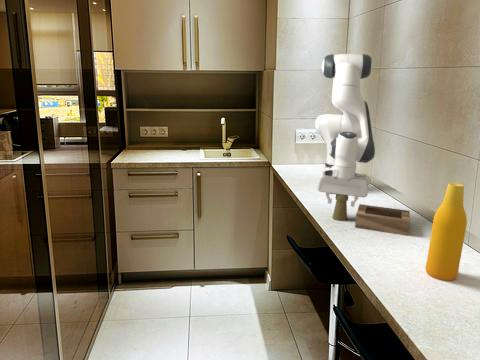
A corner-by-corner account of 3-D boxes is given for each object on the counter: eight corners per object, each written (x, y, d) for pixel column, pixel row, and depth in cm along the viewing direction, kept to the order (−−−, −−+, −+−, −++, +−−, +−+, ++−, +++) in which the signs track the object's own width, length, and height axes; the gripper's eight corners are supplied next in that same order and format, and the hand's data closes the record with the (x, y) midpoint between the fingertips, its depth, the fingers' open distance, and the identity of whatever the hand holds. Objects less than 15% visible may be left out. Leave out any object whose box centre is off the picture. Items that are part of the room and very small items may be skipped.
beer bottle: (454, 284, 132) (471, 190, 125) (422, 275, 137) (436, 184, 129) (459, 273, 139) (475, 184, 132) (428, 265, 144) (442, 178, 137)
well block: (358, 216, 190) (359, 204, 188) (407, 223, 183) (409, 210, 182) (354, 227, 176) (356, 214, 174) (408, 235, 170) (410, 222, 168)
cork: (337, 215, 190) (340, 190, 187) (349, 218, 186) (352, 193, 183) (329, 218, 186) (332, 192, 183) (341, 221, 182) (344, 196, 179)
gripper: (371, 173, 180) (367, 206, 184) (320, 167, 187) (318, 199, 190) (370, 176, 175) (366, 210, 178) (318, 170, 181) (315, 203, 184)
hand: (340, 204), depth 184 cm, fingers open, 8 cm apart
